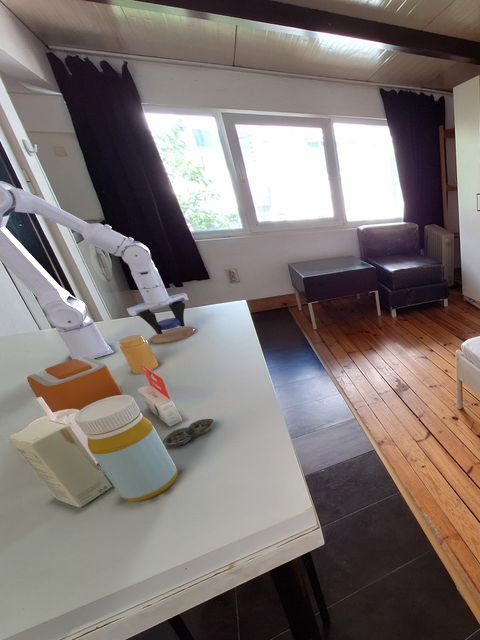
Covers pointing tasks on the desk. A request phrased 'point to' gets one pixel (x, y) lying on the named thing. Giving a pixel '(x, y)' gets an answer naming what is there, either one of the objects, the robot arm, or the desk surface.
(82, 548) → the desk surface
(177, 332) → the coaster
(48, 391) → the alarm clock
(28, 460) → the cosmetic box
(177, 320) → the lid
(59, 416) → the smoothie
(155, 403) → the ink cartridge box
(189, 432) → the corroded twin loop
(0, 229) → the robot arm
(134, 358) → the jar
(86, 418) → the bottle
